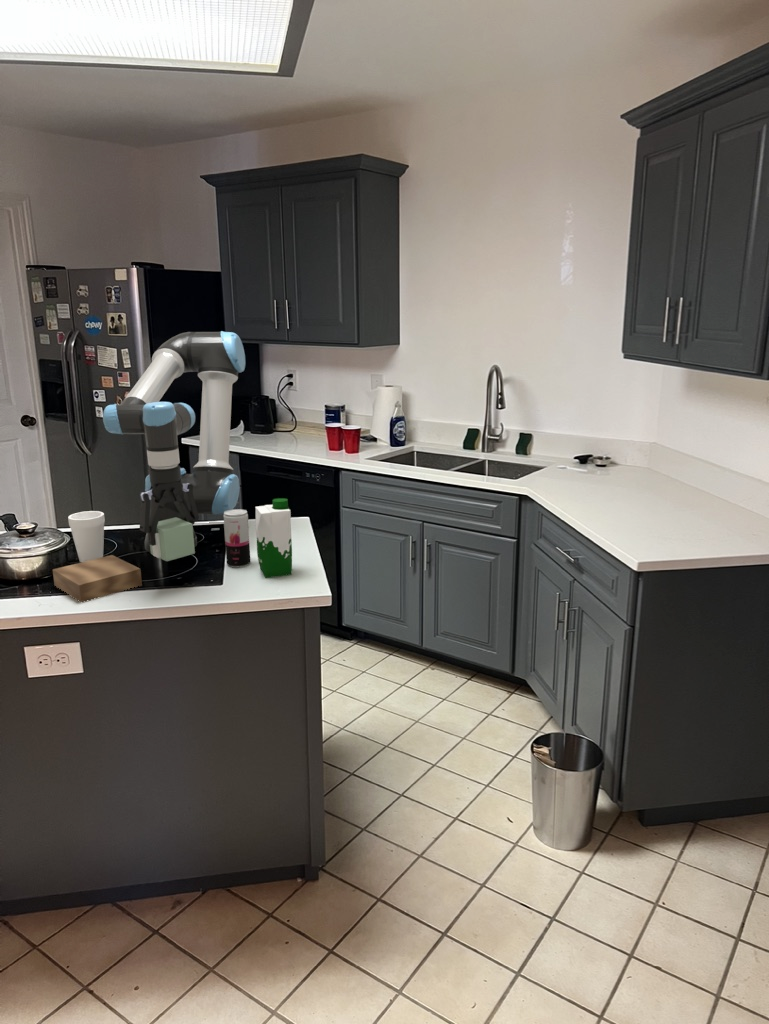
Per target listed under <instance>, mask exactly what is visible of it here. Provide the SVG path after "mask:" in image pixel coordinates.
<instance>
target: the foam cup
mask: <svg viewBox="0 0 769 1024" xmlns="http://www.w3.org/2000/svg"><path fill="white" fill-rule="evenodd" d="M67 518H68V520H67V521H68V526H69V527H70V531H71V535H72V538H73V542H74V545H75V549H76V553H77V557H78V560H79V563H81V562H85V561H89V560H93V559H97V558H102V557H104V547H105V546H104V545H105V544H104V539H105V538H104V537H105V522H106V520H105V513H104V512H102V511H99V510H89V511H87V510H86V511H80V512H76V513H72V514H70V515H68V517H67Z"/></svg>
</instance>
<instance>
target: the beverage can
mask: <svg viewBox="0 0 769 1024" xmlns="http://www.w3.org/2000/svg"><path fill="white" fill-rule="evenodd" d="M222 515H223V528H224V542H225V543H224V546H225V558H226V559H225V560H226V565H227V566H229V567H230V568H231V567H232V568H244V567H247V566H249V565H250V564H251V548H250V530H249V528H250V526H249V514H248V511H247V509H242V508H240V509H238V508H237V509H236V508H234V509H233V510H228V511H225V512H224V514H222Z"/></svg>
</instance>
